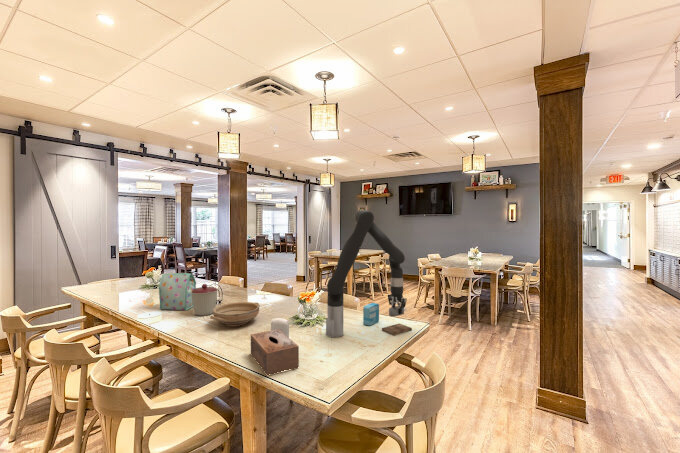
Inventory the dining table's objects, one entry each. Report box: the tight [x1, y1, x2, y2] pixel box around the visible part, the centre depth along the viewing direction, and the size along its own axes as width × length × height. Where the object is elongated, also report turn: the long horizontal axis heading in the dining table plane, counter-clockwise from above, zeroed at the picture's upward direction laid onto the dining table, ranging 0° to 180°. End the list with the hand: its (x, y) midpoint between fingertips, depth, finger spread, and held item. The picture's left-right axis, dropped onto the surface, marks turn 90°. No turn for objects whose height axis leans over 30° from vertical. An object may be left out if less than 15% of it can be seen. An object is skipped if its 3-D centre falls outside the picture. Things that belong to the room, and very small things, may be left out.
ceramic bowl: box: [210, 301, 261, 327], centre depth 201 cm, size 37×28×10 cm
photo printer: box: [270, 317, 290, 338], centre depth 171 cm, size 10×4×12 cm, turn 72°
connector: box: [388, 305, 407, 317], centre depth 186 cm, size 12×4×4 cm, turn 125°
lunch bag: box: [158, 272, 197, 311], centre depth 236 cm, size 23×16×27 cm
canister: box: [190, 283, 219, 317], centre depth 221 cm, size 18×18×21 cm
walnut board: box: [381, 323, 413, 337], centre depth 186 cm, size 15×10×2 cm, turn 126°
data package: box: [362, 302, 380, 327], centre depth 200 cm, size 12×4×12 cm, turn 142°
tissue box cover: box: [250, 329, 300, 376], centre depth 146 cm, size 26×14×10 cm, turn 31°
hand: (397, 313), depth 186 cm, fingers closed on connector, 4 cm apart
